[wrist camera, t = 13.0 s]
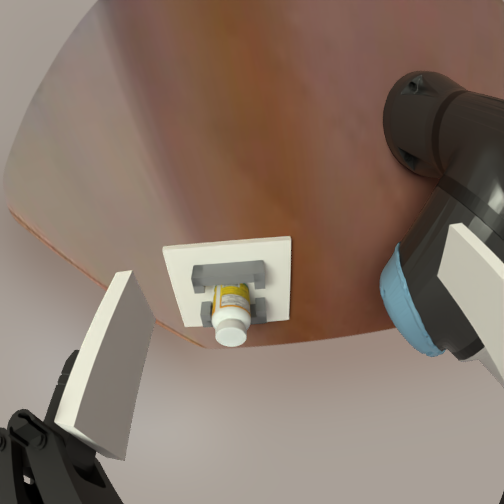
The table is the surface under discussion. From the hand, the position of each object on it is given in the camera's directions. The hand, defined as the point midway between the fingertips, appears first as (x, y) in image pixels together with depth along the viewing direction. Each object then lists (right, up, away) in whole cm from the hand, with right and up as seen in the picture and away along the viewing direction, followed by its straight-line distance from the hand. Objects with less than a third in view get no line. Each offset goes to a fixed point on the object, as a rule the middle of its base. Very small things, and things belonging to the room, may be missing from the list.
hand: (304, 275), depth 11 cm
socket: (-5, -4, +34) cm, 34 cm away
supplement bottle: (-5, -5, +33) cm, 34 cm away
